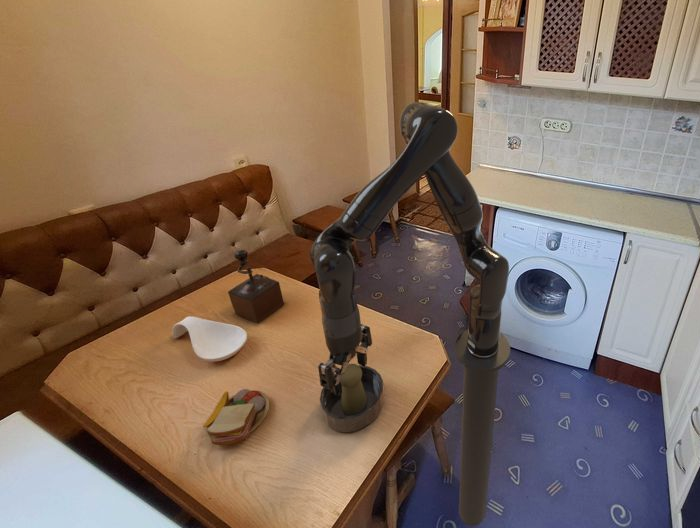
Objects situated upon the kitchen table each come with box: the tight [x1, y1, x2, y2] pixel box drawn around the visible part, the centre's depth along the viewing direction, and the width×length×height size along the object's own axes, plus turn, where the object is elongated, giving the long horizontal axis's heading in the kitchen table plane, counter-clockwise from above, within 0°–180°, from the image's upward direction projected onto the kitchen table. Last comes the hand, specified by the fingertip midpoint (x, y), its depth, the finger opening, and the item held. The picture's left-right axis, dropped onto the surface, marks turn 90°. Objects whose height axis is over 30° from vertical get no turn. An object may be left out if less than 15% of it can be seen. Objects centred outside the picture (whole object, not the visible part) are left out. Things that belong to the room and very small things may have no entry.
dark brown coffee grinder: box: [227, 249, 285, 325], centre depth 112 cm, size 16×11×18 cm
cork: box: [340, 363, 367, 414], centre depth 83 cm, size 6×6×11 cm
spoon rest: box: [171, 315, 248, 363], centre depth 99 cm, size 24×12×7 cm, turn 70°
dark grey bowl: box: [319, 364, 385, 433], centre depth 85 cm, size 14×14×5 cm
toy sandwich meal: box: [202, 388, 270, 446], centre depth 81 cm, size 12×14×5 cm
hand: (350, 377), depth 82 cm, fingers open, 8 cm apart
